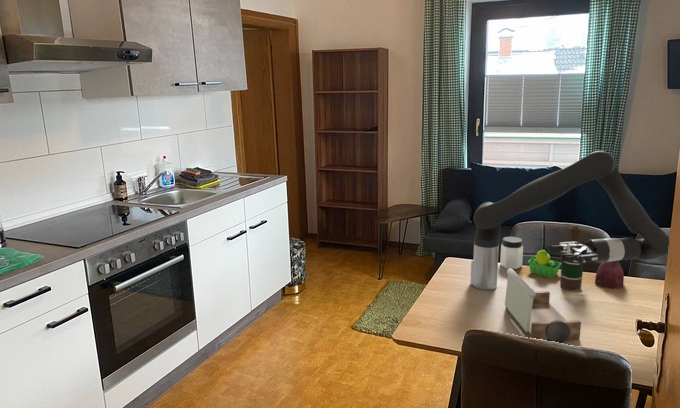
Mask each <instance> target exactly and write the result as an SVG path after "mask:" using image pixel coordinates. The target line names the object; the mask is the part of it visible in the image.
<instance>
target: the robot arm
mask: <svg viewBox="0 0 680 408" xmlns="http://www.w3.org/2000/svg"><path fill="white" fill-rule="evenodd" d="M594 180H596V181H597V182H598V183H599V185H600V186H601V187H602V188H603V189H604V191H606V193H607V195H608V196H609V198H610V200H611V202H612V203H613V205H614V208H615V209H616V210H617V213H618V215H619V217H620V218H621V219H622V221H623V222H624V224H625V226H626V227H627V228H628V229H629V231H630V233H632V234H638V235H640V236H641V237H642V238H641V239H640V238H639V239H637V238H633V237H622V238H621V237H619V238H614V237H612V238H611V237H607V238H595V239H593V238H592V239H589V240H587V241H586V242H585V244H582V243H580V244H578V242H576V241H575V242H569V241H563V242H562V241H561V242H559V245H549V247H548V252H549V253H551V254H554V253H555V254H556V253H562V254H560V261H561V263H562V262H566V261H574V262H578V263H579V264H583V265H584V264H593V263H597V264H598V263H602V262H612V261H618V260H619V261H629V260H655V259H657V258H661V257H664V256H667V255H668V245H669V238H670V237H669V235H668V234H667V233H666V232H665V231H664V230H663V229H662V228H661V227H659V226H658V225H657V224H656V223H655V222H654V221H652V220H653V219H651V218H650V216H649V214H648V213H647V212H646V210H645V208H644V207H643V205H642V204H641V203H640V202H639V200H638V199H637V197H635V195H634V194H633V193H632V191H631V190H630V188H629V187H628V186H627V184H626V183H625V181H624V179H623V178H622V176H621V173H620V171H619V169H618V167H617V165H616V160H615V158H614V157H613V155H612V154H611V153H609V152H607V151H605V150H595V151H593V152H590V153H588V154H587V155H585V156H584V157H582V158H581V159H579V160H577V161H575V162H574V163H572V164H571V165H567V166H566V167H564V168H561V169H559V170H557V171H553V172H551V173H549V174H546V175H544V176H541V177H539V178H537V179H535V180H532V181H531V182H528V183H527V184H525V185H523V186H521V187H519V188H518V189H516V190H515V191H514V192H512V193H511V194H510V195H507V197H505V198H503V199H500V200H498V201H496V202H491V201H486V202H483V203H481V204H479V206H478V207H477V208H476V210H475V212H474V214H473V223H474V225H475V233H474V236H473V237H474V239H473V240H474V241H473V260H472V261H471V262H470V283H469V284H471V285H472V286H473V287H474V288H475V289H478V290H482V291H483V290H484V291H490V290H495V289H497V286H498V272H499V271H498V266H499V247H500V239H501V230H502V229H501V228H502V223H504V222H506V221H508V220H510V219H511V218H514V217H515V216H518V215H520V214H524V213H527V212H529V211H532V210H534V209H537V208H539V207H542V206H545V205H546V204H548V203H550V202H552V201H555V200H556V199H558V198H560V197H562V196H563V195H565V194H567V193H568V192H570V191H571V190H572V189H574V188H576V187H579V186H580V185H583V184H586V183H588V182H591V181H594ZM570 250H571V251H570ZM563 252H565V253H567V254H563ZM583 260H584V261H583Z"/></svg>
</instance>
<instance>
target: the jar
mask: <svg viewBox="0 0 680 408" xmlns="http://www.w3.org/2000/svg"><path fill="white" fill-rule="evenodd" d="M500 245H501V246H500V260H499V261H500V263H499V265H501V267H503V268H505V269H507V270H508V269H510V268H511V269H513V270H518V269H519V268H522V267H523V257H524V256H523V255H524V254H523V253H524V246H523V239H522V238H520V237H517V236H504V237H502V243H501V244H500Z"/></svg>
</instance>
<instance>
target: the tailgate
mask: <svg viewBox="0 0 680 408" xmlns="http://www.w3.org/2000/svg"><path fill="white" fill-rule="evenodd" d="M506 273H507V281H506V282H507V283H506V289H505V299H504V306H505V308H506V307H507V309H508V310H509V311H510V312H511V314H512V315H513V316H514V317H515V319H516V320H517V321H518V322H519V324H520V325H521V326H522V327H523V329H524V330H525V331H526V332H529V328H530V321H531V313H532V305H533V297H535V295H536V293H535V292H536V291H535V290H534V289H533V288H532V287H530V285H529V284H527V282H525V281H524V279H523V278H521V277H520V275H519V274H517V272H516V271H515V269H511V268H510V269H508V268H507V269H506ZM507 309H506V310H507Z"/></svg>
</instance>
